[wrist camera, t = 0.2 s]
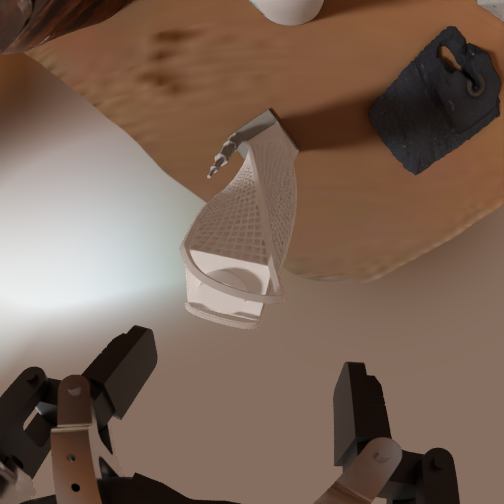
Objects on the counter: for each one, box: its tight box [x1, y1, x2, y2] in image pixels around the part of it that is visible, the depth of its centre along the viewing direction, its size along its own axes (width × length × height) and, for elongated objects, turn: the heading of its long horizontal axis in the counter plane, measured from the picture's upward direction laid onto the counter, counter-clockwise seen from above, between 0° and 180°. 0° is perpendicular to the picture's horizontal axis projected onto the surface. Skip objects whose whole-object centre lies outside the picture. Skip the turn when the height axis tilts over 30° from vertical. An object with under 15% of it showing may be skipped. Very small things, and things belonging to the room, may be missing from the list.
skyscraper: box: [180, 109, 299, 329], centre depth 25 cm, size 8×8×28 cm
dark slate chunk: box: [368, 26, 501, 175], centre depth 24 cm, size 15×22×5 cm
